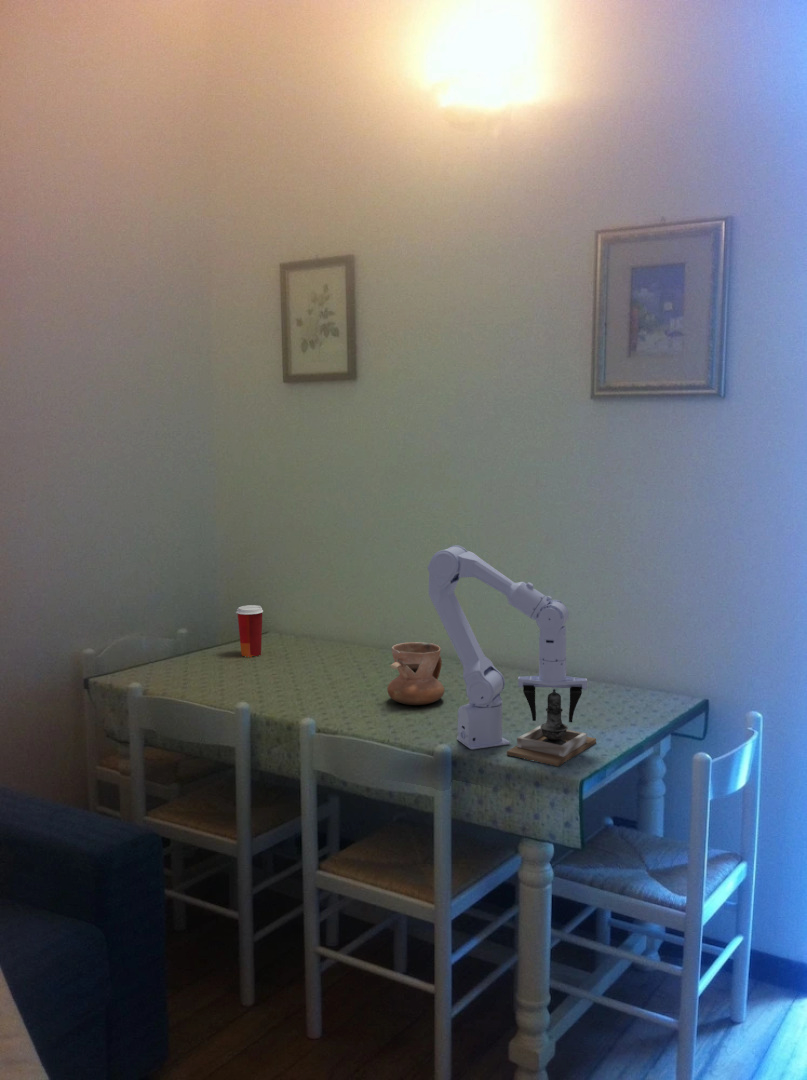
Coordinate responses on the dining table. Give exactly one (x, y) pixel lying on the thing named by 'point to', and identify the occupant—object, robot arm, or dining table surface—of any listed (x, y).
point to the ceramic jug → (416, 673)
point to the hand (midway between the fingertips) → (552, 720)
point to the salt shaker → (554, 721)
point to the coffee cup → (250, 629)
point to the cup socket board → (550, 747)
